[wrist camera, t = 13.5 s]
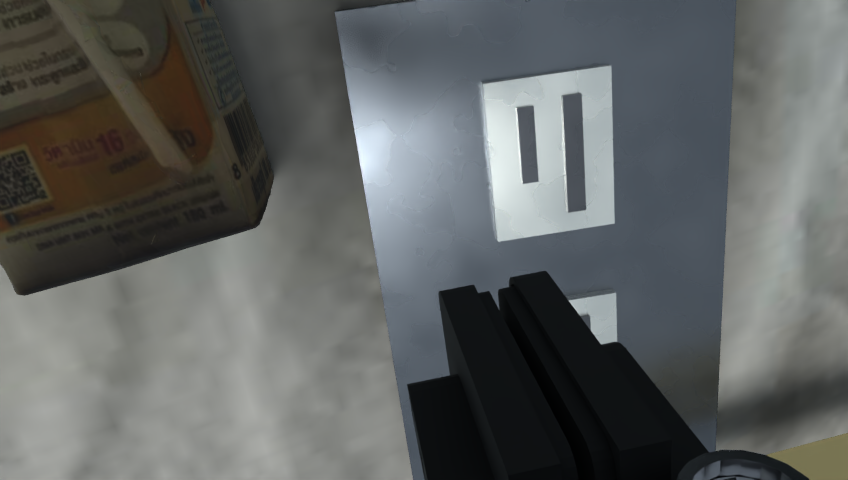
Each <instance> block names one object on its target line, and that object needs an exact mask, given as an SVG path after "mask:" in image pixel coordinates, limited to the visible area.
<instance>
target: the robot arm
mask: <svg viewBox="0 0 848 480" xmlns="http://www.w3.org/2000/svg"><path fill="white" fill-rule="evenodd" d="M438 295H439V304H440V311H441V318H442V325H443V332H444V339H445V345H446V352H447V359H448V366H449V373H450V375H449V376H444V377H439V378H435V379H430V380H425V381H420V382H415V383H410V384H407V388H408V394H409V400H410V405H411V411H412V416H413V422H414V427H415V433H416V438H417V444H418V449H419V454H420V459H421V464H422V469H423V475H424V480H810V479H809V478H808V477H806V476H805V475H803V474H802V473H800V472H799V471H797V470H796V469H794V468H793V467H791V466H790V465H788V464H786V463H784V462H782V461H779V460H777V459H774V458H772V457H769V456H767V455H764V454H759V453H754V452H749V451H745V450H719V451H714V452H710V453H709V452H708V450H707V449H706V448H705V447H704V445H703V444H702V443H701V441H700V440H699V439H698V438H697V436H696V435H695V434H694V433H693V431H692V430H691V429H690V428H689V426H688V425H687V424H686V423H685V421H684V420H683V419H682V418H681V416H680V415H679V414H678V413H677V411H676V410H675V409H674V408H673V406H672V405H671V404H670V403H669V401H668V400H667V399H666V398H665V396H664V395H663V394H662V393H661V391H660V390H659V389H658V388H657V386H656V385H655V384H654V383H653V381H652V380H651V379H650V378H649V376H648V375H647V374H646V373H645V371H644V370H643V369H642V368H641V366H640V365H639V364H638V363H637V361H636V360H635V359H634V358H633V356H632V355H631V354H630V353H629V351H628V350H627V349H626V348H625V347H624V346H623V345H622V344H621V343H619V342H611V343H606V344H600V342H599V341H598V340H597V338H596V337H595V336H594V334H593V333H592V331H591V330H590V329H589V327H588V326H587V325H586V323H585V322H584V321H583V319H582V318H581V317H580V315H579V314H578V313H577V311H576V310H575V309H574V307H573V306H572V305H571V303H570V302H569V300H568V299H567V298H566V296H565V295H564V294H563V292H562V291H561V290H560V288H559V287H558V286H557V284H556V283H555V282H554V280H553V279H552V278H551V276H550V275H549V274H548V272H546V271H540V272H535V273H530V274H525V275H520V276H514V277H510V279H509V287H506V288H501V289H499V290H498V300H499V308H498V307H497V305H496V303H495V301H494V299H493V297H492V295H491V293H490V292H489V291H486V292H480V293H478V292H477V289H476V287H475V286H474V285H468V286H463V287H458V288H453V289H447V290H442V291H439V293H438Z"/></svg>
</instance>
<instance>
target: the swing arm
mask: <svg viewBox="0 0 848 480" xmlns="http://www.w3.org/2000/svg"><path fill="white" fill-rule="evenodd" d="M767 456H769V457H772V458H774V459H777V460H779V461H782V462H784V463H786V464H788V465H790V466H791V467H793V468H794V469H796V470H797V471H799V472H800V473H802V474H803V475H805V476H806V477H808V478H809V479H810V480H848V433H846V434H842V435H838V436H835V437H831V438H827V439H823V440H820V441H816V442H812V443H809V444H805V445H801V446H797V447H794V448H790V449H786V450H783V451H779V452H775V453H771V454H768V455H767Z"/></svg>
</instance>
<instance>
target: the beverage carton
mask: <svg viewBox="0 0 848 480" xmlns="http://www.w3.org/2000/svg"><path fill="white" fill-rule="evenodd" d="M273 179H274V176H273V173H272V169H271V166H270V163H269V160H268V157H267V154H266V151H265V147H264V144H263V140H262V138H261V135H260V132H259V129H258V127H257V124H256V121H255V119H254V116H253V113H252V111H251V108H250V105H249V102H248V100H247V97H246V94H245V91H244V89H243V86H242V83H241V81H240V78H239V75H238V73H237V70H236V67H235V64H234V62H233V59H232V56H231V53H230V51H229V48H228V46H227V43H226V41H225V38H224V35H223V32H222V29H221V27H220V24H219V21H218V19H217V17H216V14H215V12H214V10H213V7H212V5H211V2H210V0H0V264H1V265H2V267H3V268H4V270H5V271H6V273H7V275H8V277H9V279H10V281H11V283H12V285H13V288H14V290H15V292H16V293H17V294H18V295H24V296H25V295H29V294H32V293H36V292H39V291H43V290H47V289H50V288H54V287H57V286H61V285H65V284H68V283H72V282H76V281H79V280H83V279H87V278H91V277H94V276H98V275H102V274H105V273H109V272H112V271H116V270H119V269H123V268H126V267H129V266H132V265H135V264H139V263H142V262H145V261H148V260H151V259H155V258H158V257H161V256H164V255H167V254H171V253H174V252H177V251H180V250H183V249H186V248H189V247H193V246H196V245H200V244H203V243H206V242H210V241H213V240H217V239H220V238H224V237H227V236H231V235H234V234H237V233H240V232H244V231H247V230H250V229H253V228H256V227H257V226H258V225H259V224H260V221H261V219H262V217H263V214H264V212H265V210H266V206H267V202H268V199H269V196H270V194H271V188H272V184H273Z"/></svg>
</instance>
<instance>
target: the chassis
mask: <svg viewBox="0 0 848 480" xmlns="http://www.w3.org/2000/svg"><path fill="white" fill-rule="evenodd" d="M735 15H736V0H411V1H404V2H397V3H390V4H383V5H375V6H368V7H361V8H354V9H347V10H340V11H335V17H336V23H337V29H338V35H339V41H340V47H341V53H342V59H343V65H344V71H345V77H346V83H347V88H348V94H349V100H350V106H351V112H352V118H353V124H354V130H355V136H356V142H357V148H358V154H359V160H360V166H361V172H362V178H363V184H364V189H365V195H366V201H367V207H368V213H369V219H370V225H371V231H372V237H373V243H374V249H375V255H376V261H377V267H378V273H379V279H380V284H381V290H382V296H383V302H384V308H385V314H386V320H387V326H388V332H389V338H390V344H391V350H392V356H393V362H394V368H395V374H396V380H397V385H398V391H399V397H400V403H401V409H402V415H403V421H404V427H405V433H406V439H407V445H408V451H409V457H410V463H411V469H412V475H413V480H424V475H423V469H422V464H421V459H420V454H419V449H418V444H417V438H416V433H415V427H414V422H413V416H412V411H411V405H410V400H409V394H408V388H407V384H410V383H415V382H420V381H425V380H430V379H435V378H439V377H444V376H449V375H450V373H449V366H448V359H447V352H446V345H445V339H444V332H443V325H442V318H441V311H440V304H439V295H438V293H439V291H442V290H447V289H453V288H458V287H463V286H468V285H474V286H475V287H476V289H477V292H478V293H480V292H486V291H489V292H490V293H491V295H492V297H493V299H494V301H495V303H496V305H497V307H498V308H499V300H498V290H499V289H501V288H506V287H509V279H510V277H514V276H520V275H525V274H530V273H535V272H540V271H546V272H548V274H549V275H550V276H551V278H552V279H553V280H554V282H555V283H556V284H557V286H558V287H559V288H560V290H561V291H562V292H563V294H564V295H565V296H566V298H567V299H568V300H569V302H570V303H571V305H572V306H573V307H574V309H575V310H576V311H577V313H578V314H579V315H580V317H581V318H582V319H583V321H584V322H585V323H586V325H587V326H588V327H589V329H590V330H591V331H592V333H593V334H594V336H595V337H596V338H597V340H598V341H599V342H600V344H606V343H611V342H619V343H621V344H622V345H623V346H624V347H625V348H626V349H627V350H628V351H629V353H630V354H631V355H632V356H633V358H634V359H635V360H636V361H637V363H638V364H639V365H640V366H641V368H642V369H643V370H644V371H645V373H646V374H647V375H648V376H649V378H650V379H651V380H652V381H653V383H654V384H655V385H656V386H657V388H658V389H659V390H660V391H661V393H662V394H663V395H664V396H665V398H666V399H667V400H668V401H669V403H670V404H671V405H672V406H673V408H674V409H675V410H676V411H677V413H678V414H679V415H680V416H681V418H682V419H683V420H684V421H685V423H686V424H687V425H688V426H689V428H690V429H691V430H692V431H693V433H694V434H695V435H696V436H697V438H698V439H699V440H700V441H701V443H702V444H703V445H704V447H705V448H706V449H707V450H708V452H709V453H710V452H714V451H715V450H716V428H717V407H718V385H719V363H720V341H721V320H722V298H723V276H724V254H725V233H726V211H727V189H728V167H729V146H730V124H731V102H732V81H733V59H734V37H735Z"/></svg>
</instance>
